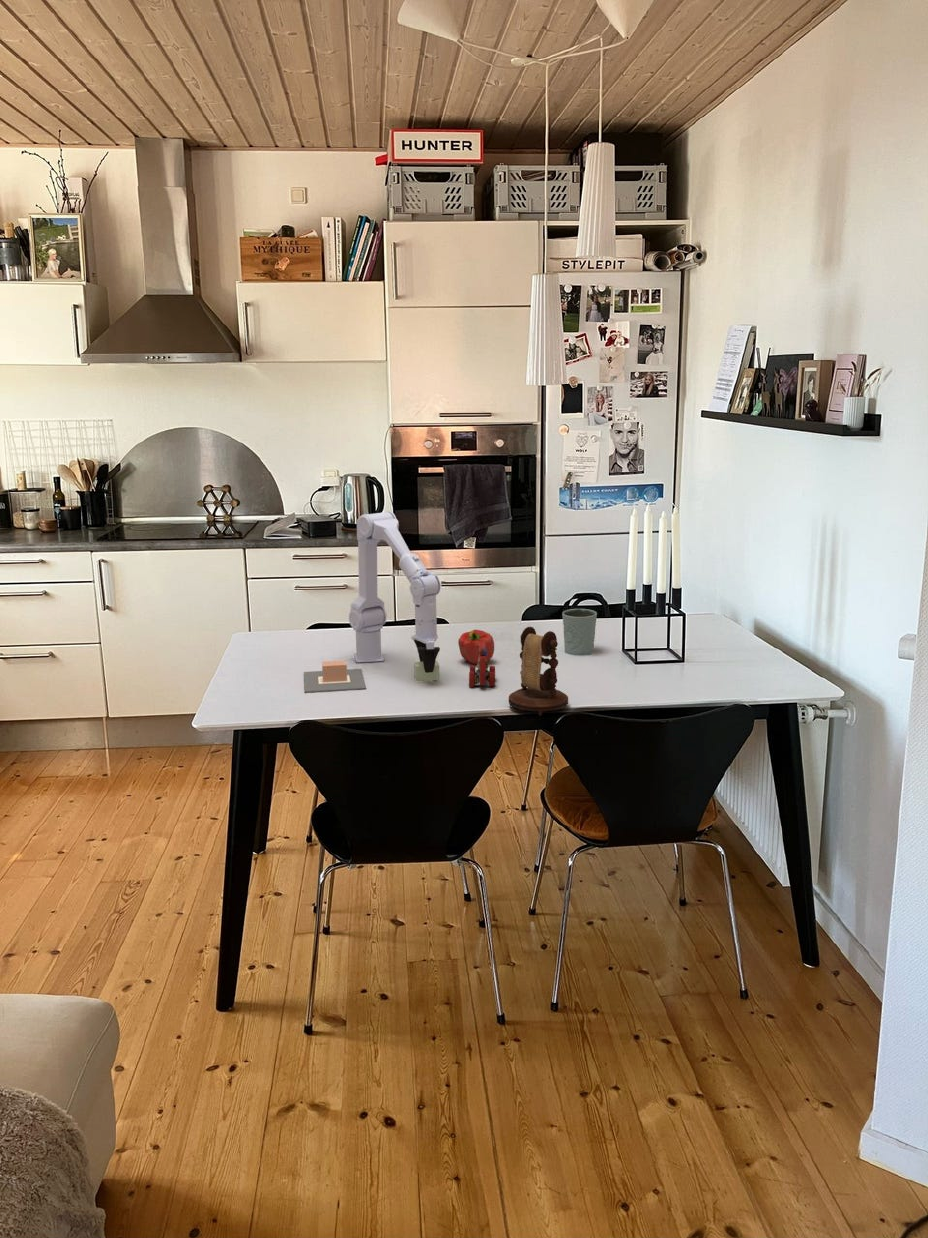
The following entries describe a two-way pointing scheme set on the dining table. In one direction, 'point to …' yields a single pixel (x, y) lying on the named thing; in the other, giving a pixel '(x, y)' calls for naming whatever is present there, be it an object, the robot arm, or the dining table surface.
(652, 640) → the dining table surface
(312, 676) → the mat
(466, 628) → the dining table surface
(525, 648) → the scroll
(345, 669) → the terracotta brick
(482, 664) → the toy fire truck
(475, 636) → the vegetable
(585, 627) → the grey green cup
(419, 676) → the sage brick
